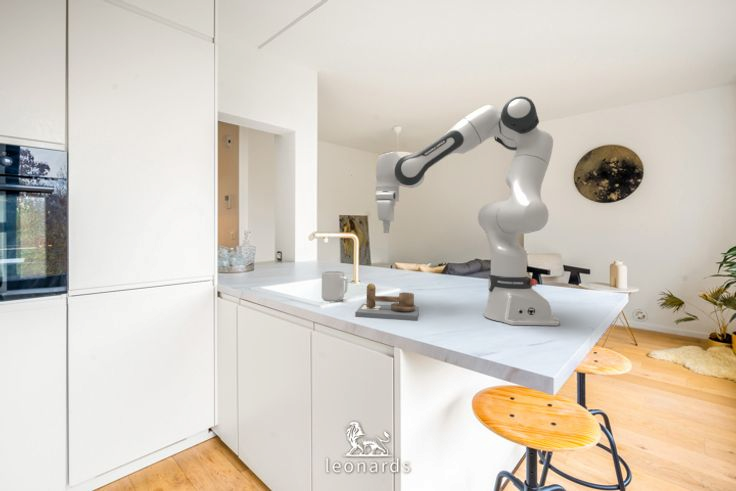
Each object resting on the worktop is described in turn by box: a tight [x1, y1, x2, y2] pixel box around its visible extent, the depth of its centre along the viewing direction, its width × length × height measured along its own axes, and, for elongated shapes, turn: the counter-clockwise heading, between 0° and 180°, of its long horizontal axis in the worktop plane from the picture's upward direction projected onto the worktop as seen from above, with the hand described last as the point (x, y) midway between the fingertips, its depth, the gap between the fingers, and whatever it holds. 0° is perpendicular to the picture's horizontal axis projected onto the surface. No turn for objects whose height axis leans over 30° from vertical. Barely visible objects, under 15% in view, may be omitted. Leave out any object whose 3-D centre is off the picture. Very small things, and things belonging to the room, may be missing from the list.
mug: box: [321, 270, 349, 303], centre depth 137 cm, size 12×9×11 cm
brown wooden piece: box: [365, 283, 416, 312], centre depth 117 cm, size 16×8×8 cm, turn 85°
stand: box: [354, 303, 420, 321], centre depth 117 cm, size 20×13×2 cm, turn 80°
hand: (386, 233), depth 131 cm, fingers closed
